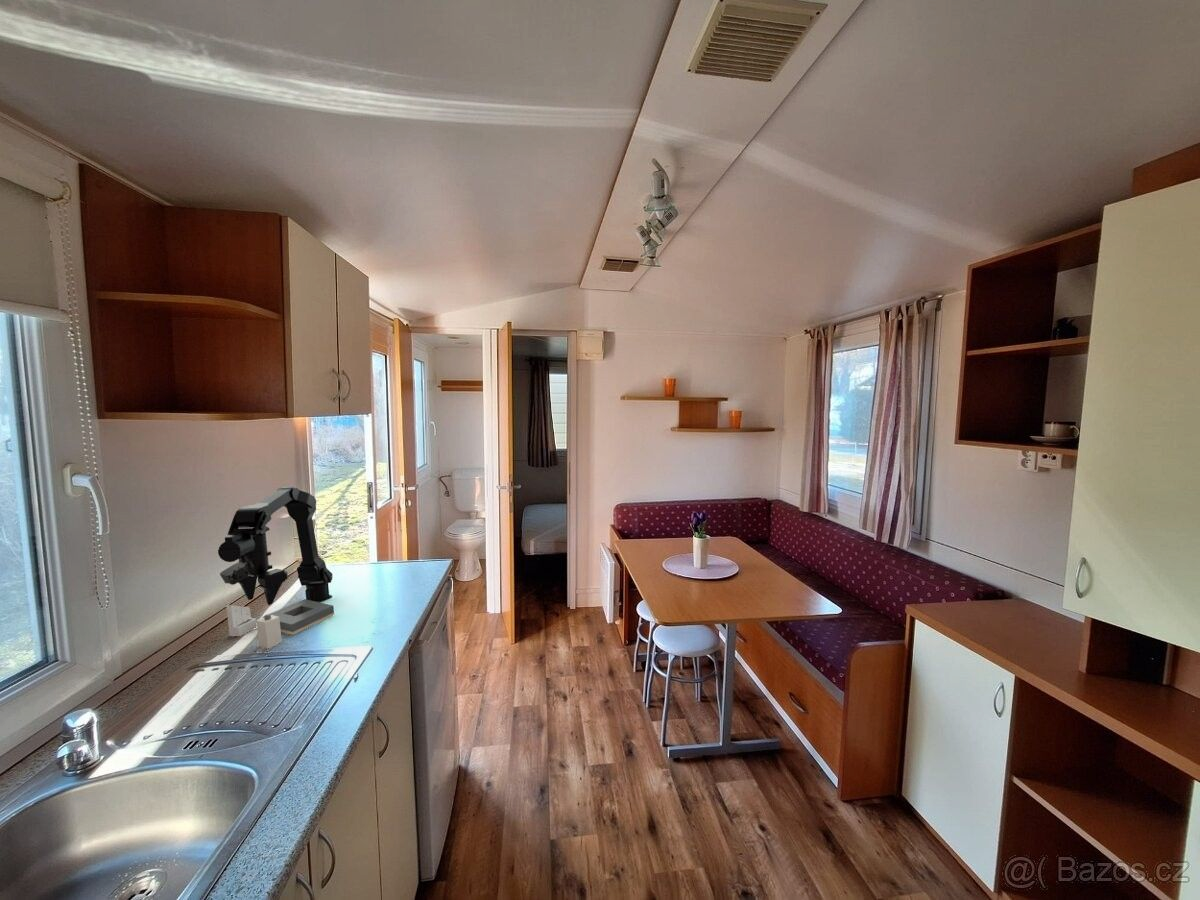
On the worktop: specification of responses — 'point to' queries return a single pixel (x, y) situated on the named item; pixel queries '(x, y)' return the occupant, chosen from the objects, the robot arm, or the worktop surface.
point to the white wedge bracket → (239, 620)
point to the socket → (302, 615)
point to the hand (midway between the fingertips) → (260, 602)
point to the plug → (269, 631)
